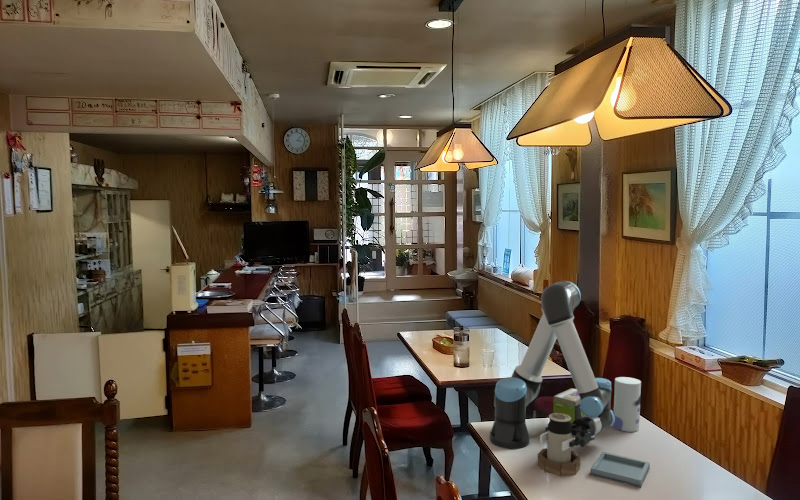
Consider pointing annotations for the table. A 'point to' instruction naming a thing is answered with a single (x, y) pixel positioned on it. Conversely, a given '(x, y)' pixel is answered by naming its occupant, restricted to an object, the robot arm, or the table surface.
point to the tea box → (568, 404)
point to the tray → (620, 469)
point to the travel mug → (558, 438)
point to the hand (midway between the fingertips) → (551, 442)
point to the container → (627, 404)
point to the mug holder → (558, 464)
